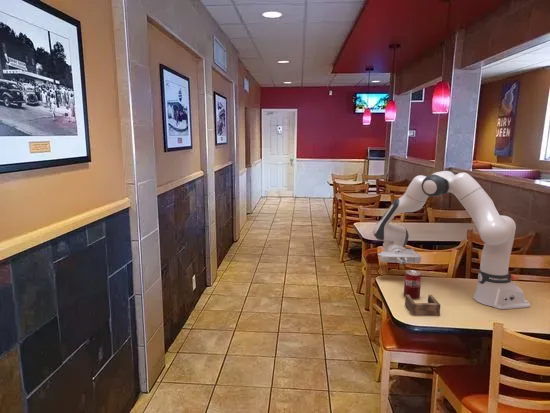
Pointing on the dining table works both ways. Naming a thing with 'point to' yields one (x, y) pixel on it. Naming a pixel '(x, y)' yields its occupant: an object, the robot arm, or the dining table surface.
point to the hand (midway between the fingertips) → (404, 262)
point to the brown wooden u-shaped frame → (423, 307)
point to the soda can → (412, 284)
